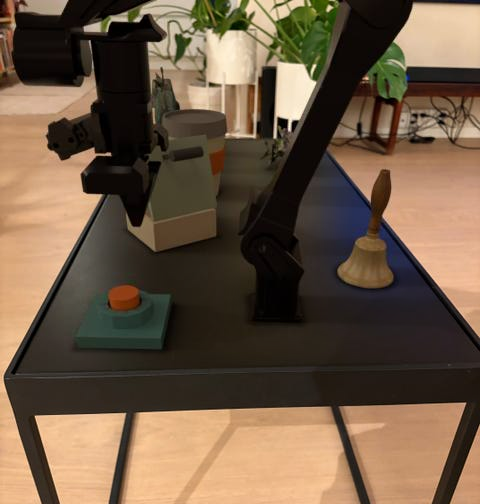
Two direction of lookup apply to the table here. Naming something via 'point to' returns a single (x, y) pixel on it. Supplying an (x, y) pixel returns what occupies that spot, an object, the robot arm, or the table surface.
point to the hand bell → (371, 244)
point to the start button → (124, 298)
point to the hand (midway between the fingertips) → (137, 225)
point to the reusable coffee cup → (201, 133)
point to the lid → (182, 179)
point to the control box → (125, 323)
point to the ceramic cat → (163, 97)
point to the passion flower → (278, 146)
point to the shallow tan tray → (175, 229)
